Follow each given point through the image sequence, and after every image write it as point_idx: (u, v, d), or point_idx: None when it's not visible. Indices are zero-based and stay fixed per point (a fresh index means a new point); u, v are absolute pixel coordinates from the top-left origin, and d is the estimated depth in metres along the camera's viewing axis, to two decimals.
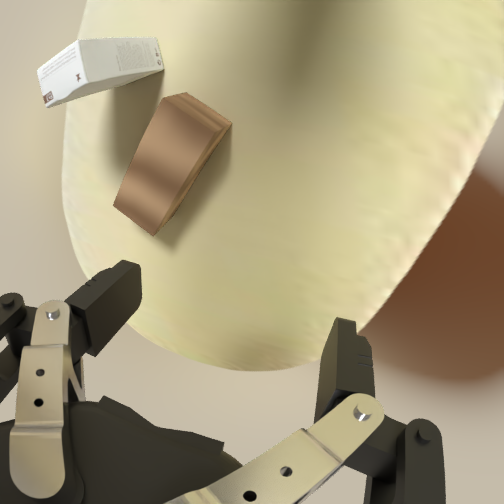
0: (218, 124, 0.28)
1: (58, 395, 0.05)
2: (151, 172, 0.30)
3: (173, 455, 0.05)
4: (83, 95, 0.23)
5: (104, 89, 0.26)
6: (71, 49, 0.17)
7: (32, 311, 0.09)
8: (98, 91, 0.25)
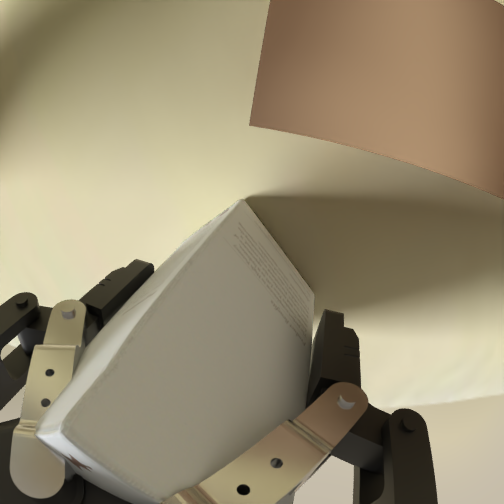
0: None
1: None
2: None
3: None
4: (285, 413, 0.08)
5: (296, 341, 0.11)
6: None
7: (46, 310, 0.09)
8: (299, 358, 0.10)
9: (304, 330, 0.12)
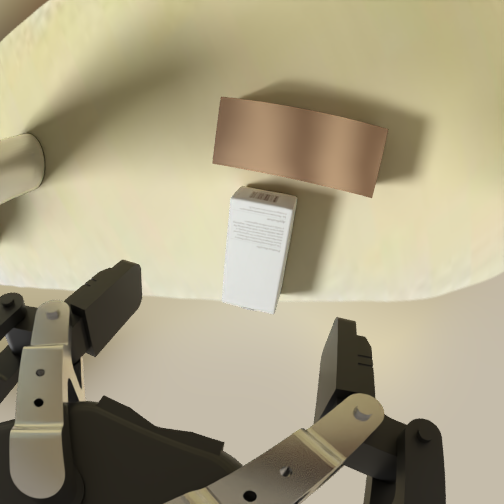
0: None
1: (58, 395, 0.05)
2: (300, 149, 0.25)
3: (173, 455, 0.05)
4: (268, 281, 0.32)
5: (273, 253, 0.30)
6: None
7: (32, 310, 0.09)
8: (275, 260, 0.30)
9: (279, 244, 0.29)
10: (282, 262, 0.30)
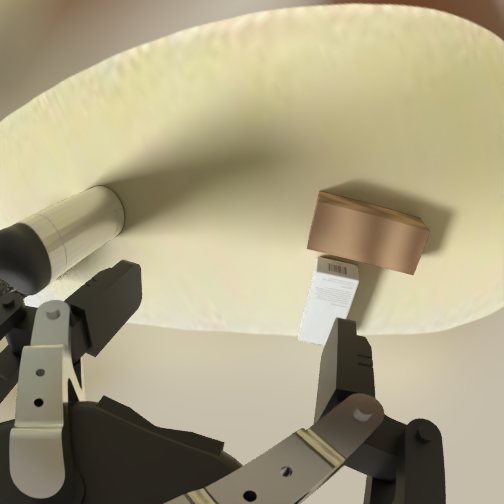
0: None
1: (58, 395, 0.05)
2: (371, 243, 0.35)
3: (173, 455, 0.05)
4: None
5: (341, 308, 0.41)
6: None
7: (32, 311, 0.09)
8: (342, 312, 0.41)
9: (346, 302, 0.40)
10: (347, 314, 0.41)
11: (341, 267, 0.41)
